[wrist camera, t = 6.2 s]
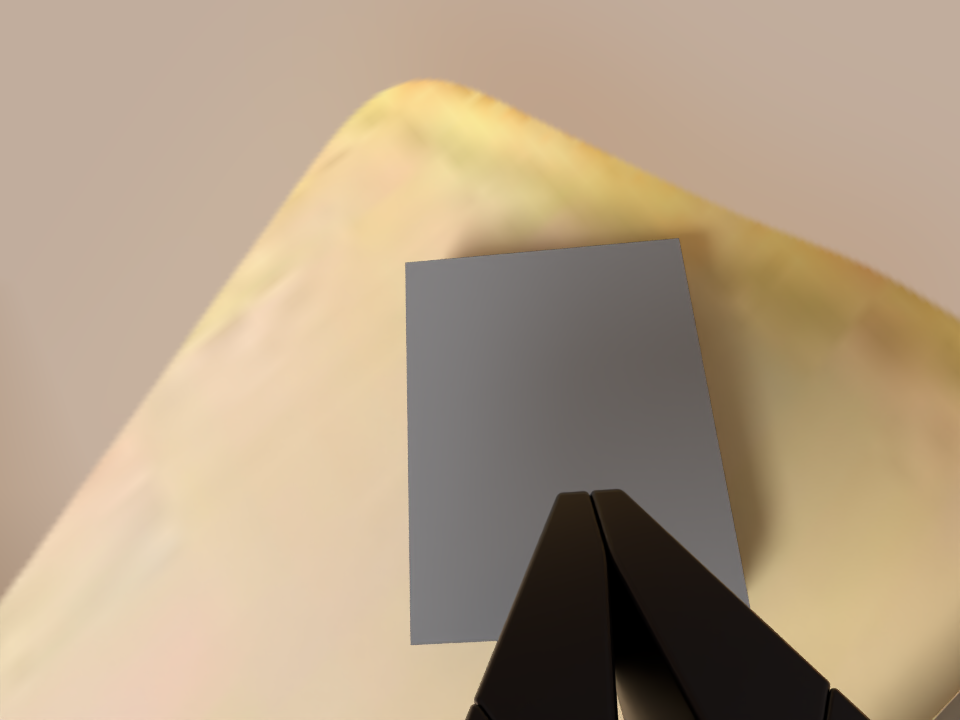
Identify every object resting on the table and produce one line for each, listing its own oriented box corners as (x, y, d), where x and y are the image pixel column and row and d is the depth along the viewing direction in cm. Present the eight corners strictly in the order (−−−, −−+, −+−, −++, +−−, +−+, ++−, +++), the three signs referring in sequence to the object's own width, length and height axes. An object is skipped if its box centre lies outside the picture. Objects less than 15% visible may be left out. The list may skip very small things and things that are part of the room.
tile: (753, 627, 12) (678, 238, 15) (410, 644, 12) (405, 262, 15) (717, 617, 14) (658, 281, 17) (429, 632, 14) (421, 301, 17)
